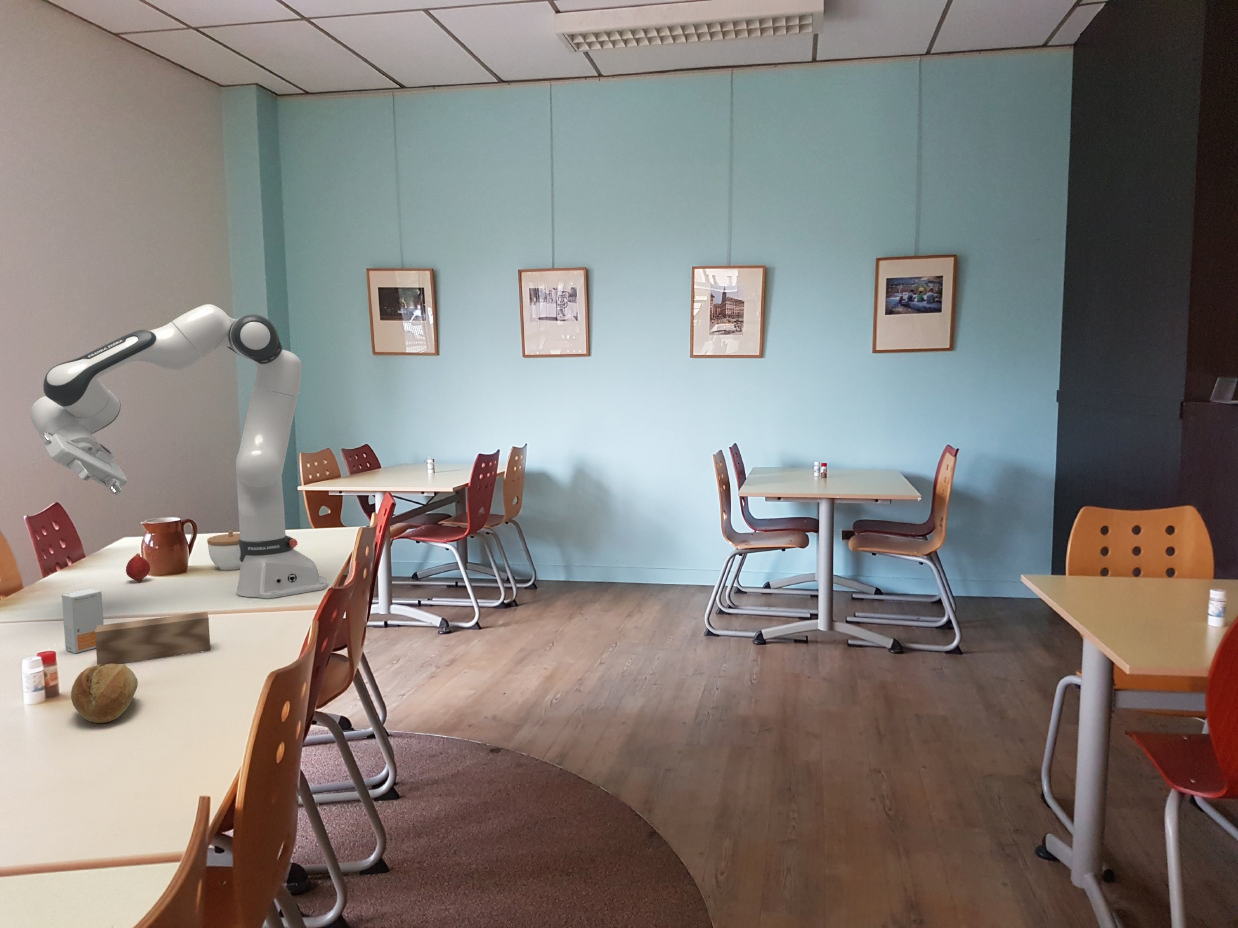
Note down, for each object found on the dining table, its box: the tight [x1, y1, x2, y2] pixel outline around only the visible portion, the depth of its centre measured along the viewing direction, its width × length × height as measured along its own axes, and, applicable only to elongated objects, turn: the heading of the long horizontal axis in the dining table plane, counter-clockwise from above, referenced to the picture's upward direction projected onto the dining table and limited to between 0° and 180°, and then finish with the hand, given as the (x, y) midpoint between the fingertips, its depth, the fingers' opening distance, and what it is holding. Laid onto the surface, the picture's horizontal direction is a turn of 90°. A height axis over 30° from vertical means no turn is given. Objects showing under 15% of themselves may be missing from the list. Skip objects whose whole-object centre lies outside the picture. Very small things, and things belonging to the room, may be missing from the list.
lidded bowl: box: [206, 530, 241, 571], centre depth 249 cm, size 13×13×11 cm
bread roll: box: [70, 664, 139, 724], centre depth 143 cm, size 10×15×8 cm, turn 28°
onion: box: [125, 552, 151, 583], centre depth 232 cm, size 6×6×8 cm
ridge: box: [95, 611, 211, 666], centre depth 171 cm, size 20×5×7 cm, turn 118°
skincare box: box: [61, 588, 105, 654], centre depth 176 cm, size 6×4×12 cm
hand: (102, 485), depth 190 cm, fingers open, 8 cm apart
